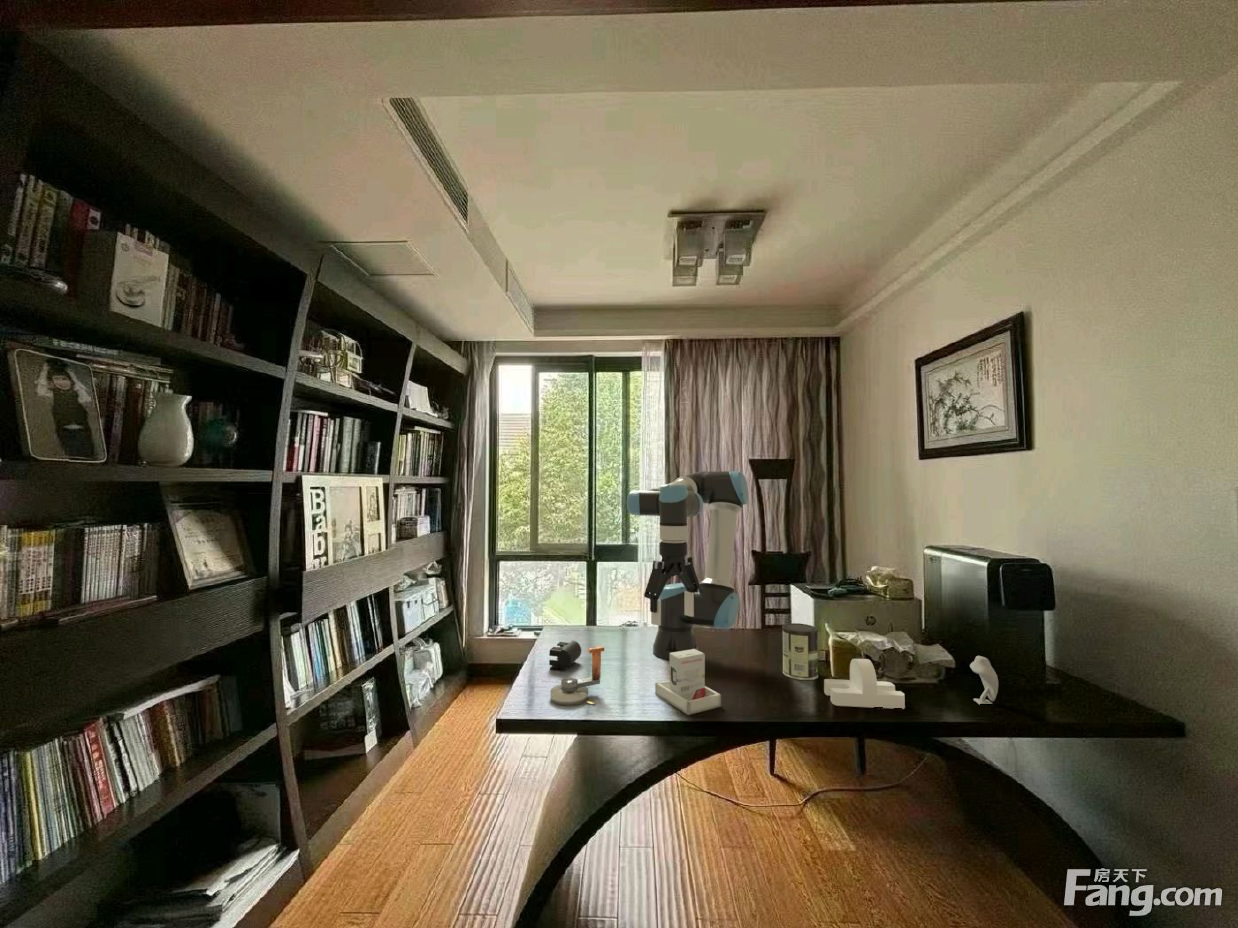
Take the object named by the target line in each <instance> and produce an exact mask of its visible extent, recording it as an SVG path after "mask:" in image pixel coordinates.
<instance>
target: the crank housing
mask: <svg viewBox="0 0 1238 928" xmlns="http://www.w3.org/2000/svg"><path fill="white" fill-rule="evenodd" d="M549 694H550V698H549V699H550V702H551V703H552V704H555V705H557V706H563V707H574V706H579V705H582V704H584V703H585V704H588V705H591V706H595V705H596V703H595V702H592V701H590V700H588V699H589V689H588V686H586V687H581V688H578V689H577V690H576V691H573V692H565V691H562V690H561V683H560V684H557V685H555V686H553V687H552V688H551V689H550V693H549Z"/></svg>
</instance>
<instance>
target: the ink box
mask: <svg viewBox="0 0 1238 928" xmlns="http://www.w3.org/2000/svg"><path fill="white" fill-rule="evenodd" d="M705 675H706V654H705V653H704V652H702V651H700V650H699V649H698V650H696V649H691V650H685V651H678V652H672V653H670V659H669V675H668V676H669V677H668V678H669V679H668V680H669V689H670V690H671V691H673V692H675V693H676V694H678V695H680V696H681V697H683V698H685V699H686V700H688V701H690V700H695V699H699V698H703V697H705V686H706V685H705V684H706V683H705V681H706V680H705V679H706V676H705Z"/></svg>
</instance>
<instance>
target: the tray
mask: <svg viewBox="0 0 1238 928" xmlns="http://www.w3.org/2000/svg"><path fill="white" fill-rule="evenodd" d="M654 684H655V687H654V689H655V691H654V692H655V693H654V694H655V695H656V696H657V697H659V698H661V699H662V700H664V701H665V702H666V703H668V704H671V705H672V706H673V707H675V708H676V709H678V710H679V711H681V712H682V713H684V714H686V715H687V716H690V715H693V714H696V713H701V712H706V711H708V710H713V709H717V708H721V707H722V694H721V693H719V692H717V691H715V690H713V689H711V688H710V687H708V686H706V685H705V697H703V698H699V699H695V700H690V701H688V700H686V699H685V698H683V697H681V696H680V695H678V694H676V693H675V692H673V691H671V690H670V689H669V679H668V680H667V679H666V680H663V681H659V682H655V683H654Z"/></svg>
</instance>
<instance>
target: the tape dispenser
mask: <svg viewBox="0 0 1238 928" xmlns="http://www.w3.org/2000/svg"><path fill="white" fill-rule="evenodd" d="M823 692H824V694H825V695H826V696H830V702H831V703H832V704H833V705H834V706H838V707H856V708H858V707H859V708H874V707H883V708H882V709H894V708H902V709H901V710H904V709H905V708H906V705H905V704H906V703H905V702H906V700H905V698H906V697H905V693H904V692H902V690H896V685H895V684H893V682H890V681H882V680H881V681H880V680H879V681H878V679H877V673H876V671H875V666H874V665H873V662H872V661H871V660H870V659H868V658H852V659H851V660H850V664H849V679H837V678H836V679H835V678H825V679H823Z"/></svg>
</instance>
